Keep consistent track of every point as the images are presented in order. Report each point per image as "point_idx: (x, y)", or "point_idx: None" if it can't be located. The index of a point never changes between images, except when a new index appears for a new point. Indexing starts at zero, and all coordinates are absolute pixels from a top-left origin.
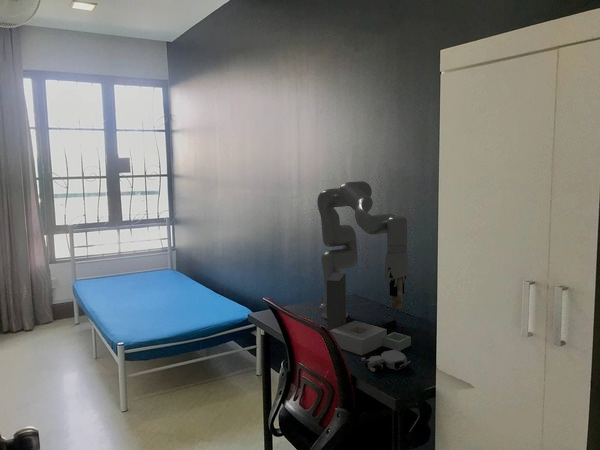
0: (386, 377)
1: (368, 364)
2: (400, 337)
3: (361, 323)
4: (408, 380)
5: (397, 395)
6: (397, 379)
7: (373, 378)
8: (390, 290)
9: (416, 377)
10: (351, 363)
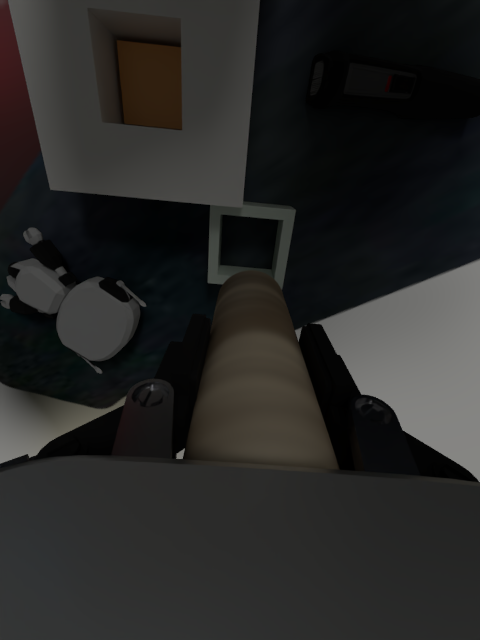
0: (42, 327)
1: (12, 277)
2: (277, 247)
3: (240, 9)
4: (75, 369)
5: (4, 380)
6: (58, 350)
7: None
8: (163, 359)
9: (102, 375)
10: (11, 195)
